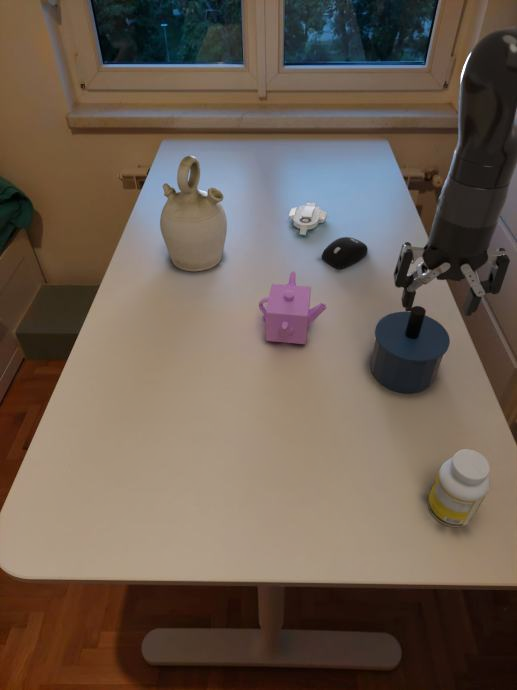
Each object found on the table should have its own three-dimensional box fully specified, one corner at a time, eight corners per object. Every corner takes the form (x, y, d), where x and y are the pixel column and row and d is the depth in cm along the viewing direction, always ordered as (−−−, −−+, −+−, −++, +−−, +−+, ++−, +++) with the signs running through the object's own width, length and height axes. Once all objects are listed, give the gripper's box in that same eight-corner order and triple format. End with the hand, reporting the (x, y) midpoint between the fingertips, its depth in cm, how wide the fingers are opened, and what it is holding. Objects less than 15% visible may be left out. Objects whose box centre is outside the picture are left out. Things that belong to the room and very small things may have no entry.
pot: (438, 357, 97) (449, 323, 91) (430, 401, 89) (442, 367, 83) (377, 342, 100) (384, 309, 94) (364, 383, 92) (371, 350, 86)
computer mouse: (374, 254, 123) (377, 240, 120) (339, 272, 118) (341, 257, 115) (352, 241, 127) (354, 227, 125) (317, 258, 122) (319, 244, 119)
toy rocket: (294, 205, 142) (294, 197, 140) (328, 209, 140) (329, 201, 138) (283, 234, 130) (283, 226, 129) (320, 238, 128) (320, 230, 127)
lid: (451, 325, 92) (461, 296, 87) (444, 372, 83) (454, 343, 78) (381, 309, 95) (387, 281, 90) (367, 354, 86) (373, 324, 82)
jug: (241, 253, 124) (237, 153, 107) (199, 283, 115) (188, 179, 98) (195, 234, 131) (185, 137, 113) (152, 261, 122) (134, 160, 104)
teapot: (321, 366, 95) (325, 327, 89) (252, 359, 97) (251, 321, 90) (325, 306, 108) (329, 269, 102) (264, 302, 110) (264, 264, 103)
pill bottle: (463, 487, 76) (486, 441, 68) (479, 527, 72) (506, 483, 64) (421, 489, 76) (439, 444, 68) (434, 530, 71) (456, 486, 63)
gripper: (413, 222, 61) (389, 323, 72) (535, 229, 60) (492, 330, 71) (407, 193, 66) (386, 291, 77) (519, 199, 65) (481, 297, 76)
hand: (436, 310), depth 74 cm, fingers open, 8 cm apart
